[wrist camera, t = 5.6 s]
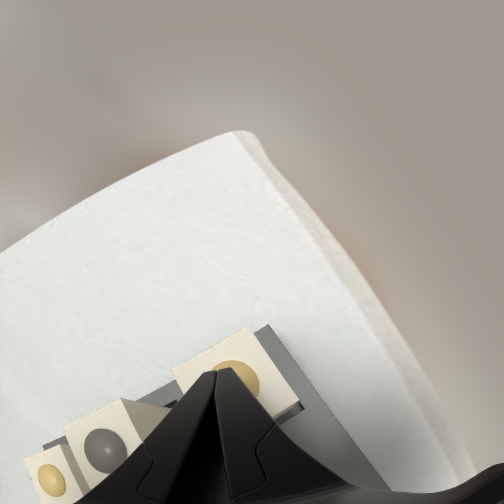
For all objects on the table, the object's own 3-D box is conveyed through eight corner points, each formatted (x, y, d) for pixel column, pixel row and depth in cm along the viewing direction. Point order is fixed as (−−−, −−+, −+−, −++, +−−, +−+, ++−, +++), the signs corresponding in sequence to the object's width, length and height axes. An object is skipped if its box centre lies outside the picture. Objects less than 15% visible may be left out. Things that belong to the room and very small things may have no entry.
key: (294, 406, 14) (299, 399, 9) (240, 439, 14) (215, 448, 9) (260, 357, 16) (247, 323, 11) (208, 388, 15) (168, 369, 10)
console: (377, 483, 14) (392, 491, 11) (151, 583, 10) (133, 598, 8) (270, 338, 20) (268, 323, 17) (68, 446, 16) (42, 445, 14)
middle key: (201, 459, 13) (158, 475, 8) (152, 481, 13) (92, 499, 8) (171, 408, 15) (117, 397, 10) (125, 431, 14) (59, 426, 9)
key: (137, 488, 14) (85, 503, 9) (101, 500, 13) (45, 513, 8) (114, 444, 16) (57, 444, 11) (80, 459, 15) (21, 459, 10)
